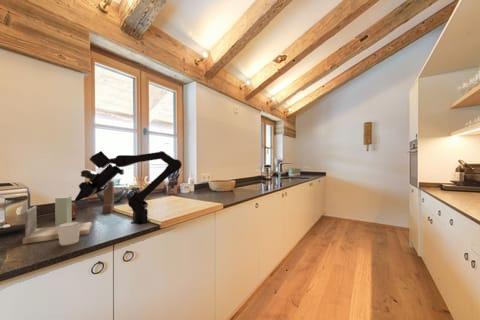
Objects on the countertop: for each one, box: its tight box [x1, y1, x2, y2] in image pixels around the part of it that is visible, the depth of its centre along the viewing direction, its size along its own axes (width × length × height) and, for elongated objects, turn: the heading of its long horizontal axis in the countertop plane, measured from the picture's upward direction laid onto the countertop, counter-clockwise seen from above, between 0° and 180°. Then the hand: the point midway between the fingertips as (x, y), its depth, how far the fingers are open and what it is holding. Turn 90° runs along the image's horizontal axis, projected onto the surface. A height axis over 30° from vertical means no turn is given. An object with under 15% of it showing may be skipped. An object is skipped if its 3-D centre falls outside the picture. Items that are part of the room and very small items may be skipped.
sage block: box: [54, 195, 73, 227], centre depth 97 cm, size 4×4×14 cm
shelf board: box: [22, 205, 93, 245], centre depth 88 cm, size 20×12×12 cm, turn 121°
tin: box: [72, 202, 78, 219], centre depth 113 cm, size 15×3×8 cm, turn 58°
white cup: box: [57, 221, 81, 246], centre depth 80 cm, size 7×7×7 cm
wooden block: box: [102, 180, 115, 215], centre depth 124 cm, size 9×4×18 cm, turn 23°
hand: (80, 198), depth 98 cm, fingers open, 9 cm apart
